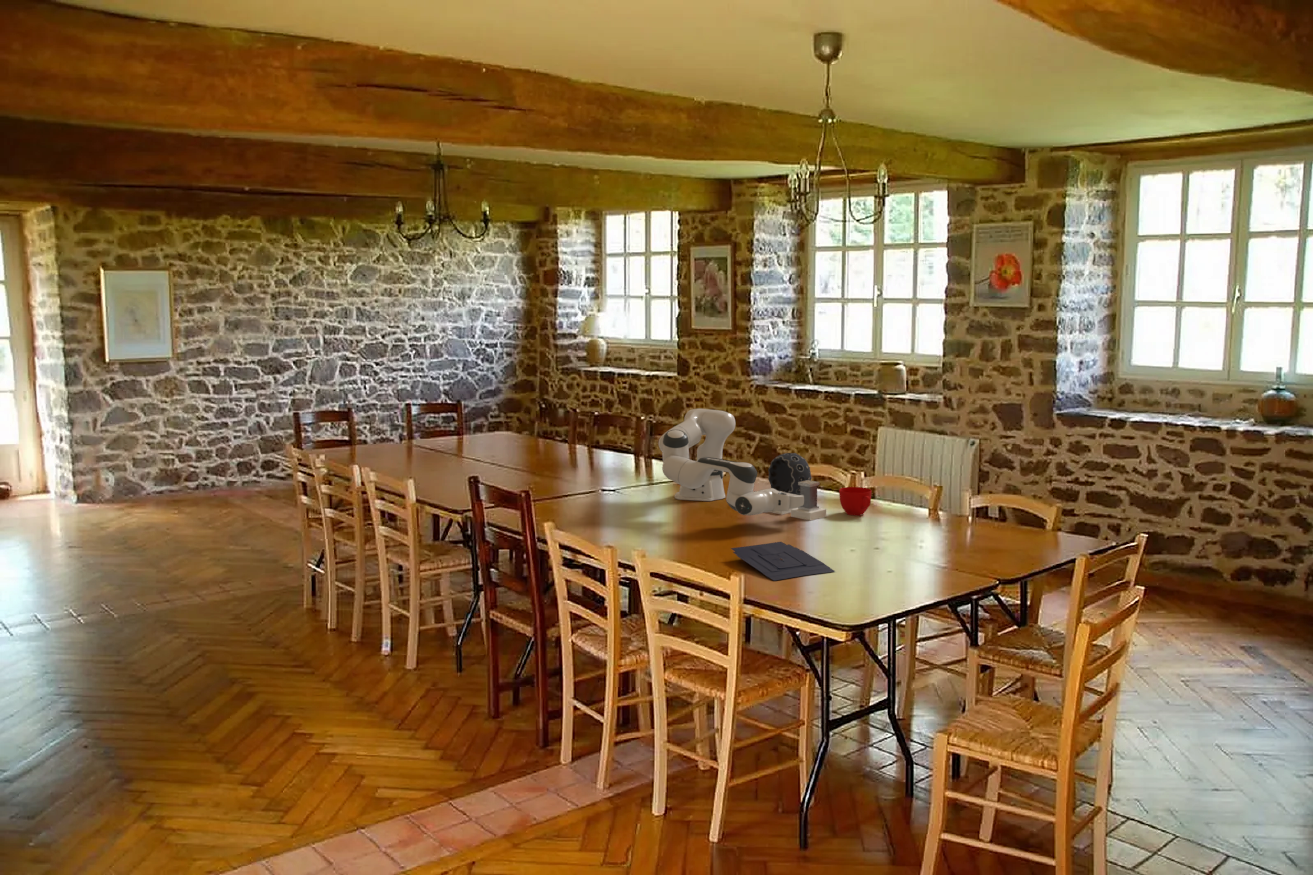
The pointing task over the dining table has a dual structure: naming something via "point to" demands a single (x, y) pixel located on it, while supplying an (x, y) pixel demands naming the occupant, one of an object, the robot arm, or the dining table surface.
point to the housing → (809, 495)
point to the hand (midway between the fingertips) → (792, 495)
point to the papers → (781, 560)
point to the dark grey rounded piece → (788, 473)
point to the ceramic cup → (855, 500)
